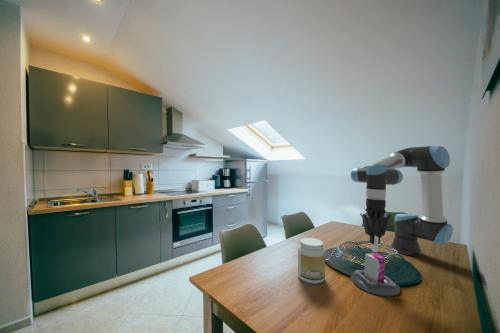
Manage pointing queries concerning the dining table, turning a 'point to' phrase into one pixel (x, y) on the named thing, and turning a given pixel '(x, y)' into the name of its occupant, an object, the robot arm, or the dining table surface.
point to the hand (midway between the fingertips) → (374, 250)
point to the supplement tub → (311, 260)
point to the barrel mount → (375, 285)
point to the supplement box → (374, 267)
